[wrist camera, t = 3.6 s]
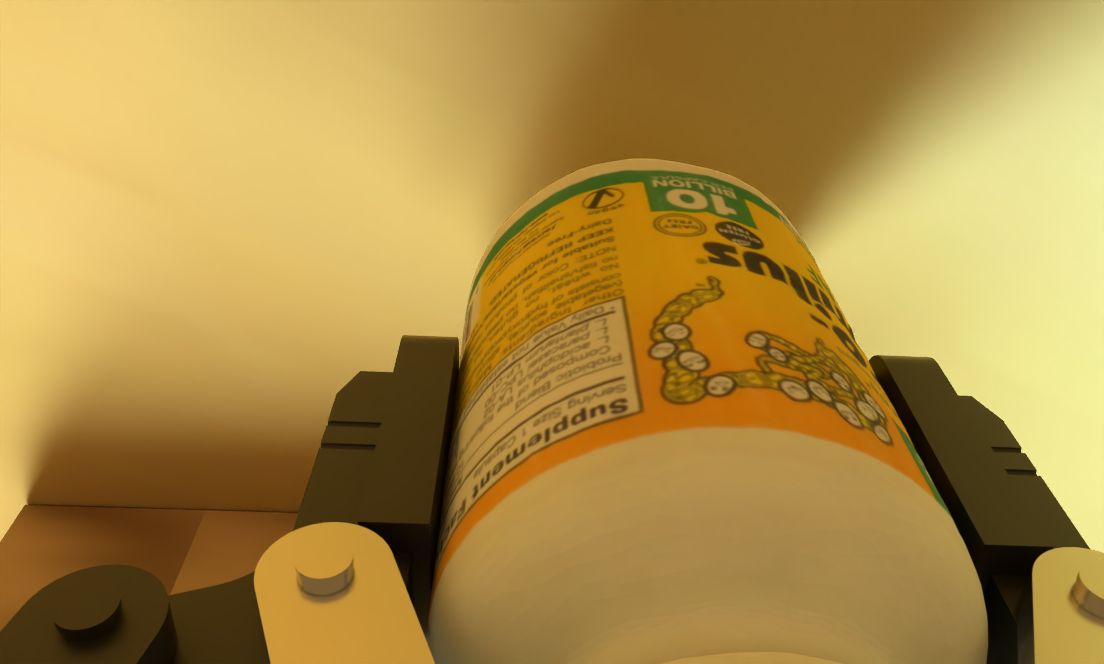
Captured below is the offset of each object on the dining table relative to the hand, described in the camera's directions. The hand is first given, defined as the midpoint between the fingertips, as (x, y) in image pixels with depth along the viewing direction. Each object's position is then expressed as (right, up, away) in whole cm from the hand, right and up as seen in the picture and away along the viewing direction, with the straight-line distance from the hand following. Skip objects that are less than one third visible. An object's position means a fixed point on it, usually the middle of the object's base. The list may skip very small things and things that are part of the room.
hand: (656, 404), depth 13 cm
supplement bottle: (0, +1, +2) cm, 3 cm away
